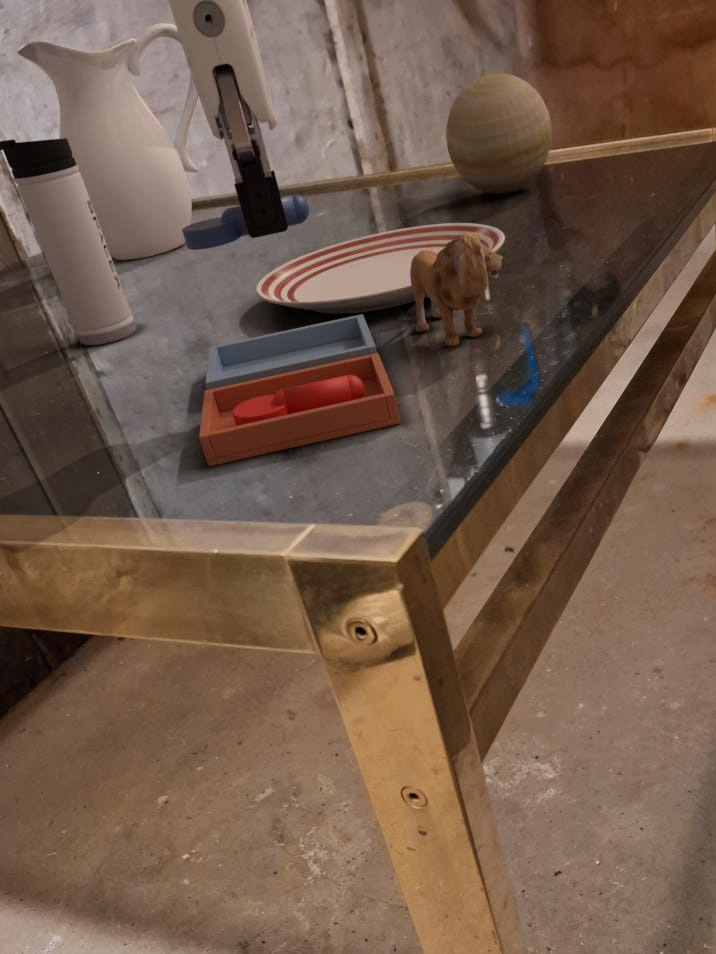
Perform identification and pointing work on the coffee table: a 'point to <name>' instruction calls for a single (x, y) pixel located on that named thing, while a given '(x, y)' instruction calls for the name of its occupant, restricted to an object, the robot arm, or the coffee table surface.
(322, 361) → the blue tray
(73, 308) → the travel mug
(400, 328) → the coffee table surface
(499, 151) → the decorative ball
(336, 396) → the red spoon
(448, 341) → the lion figurine
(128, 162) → the pitcher
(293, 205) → the blue spoon
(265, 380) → the red tray
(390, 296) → the dinner plate
